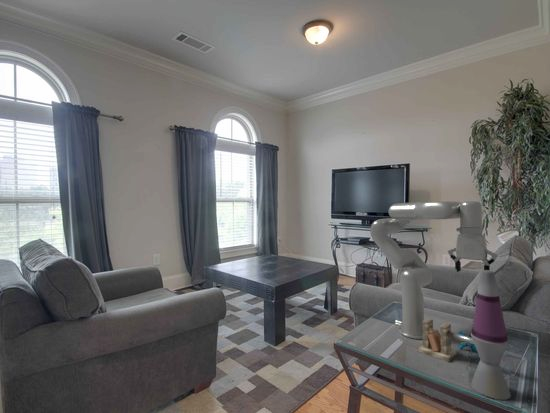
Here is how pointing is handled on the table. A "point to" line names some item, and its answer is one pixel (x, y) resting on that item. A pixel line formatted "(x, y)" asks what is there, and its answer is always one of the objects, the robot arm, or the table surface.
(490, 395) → the lamp
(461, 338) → the shaft
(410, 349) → the table surface
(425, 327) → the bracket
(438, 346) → the spacer
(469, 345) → the gear
